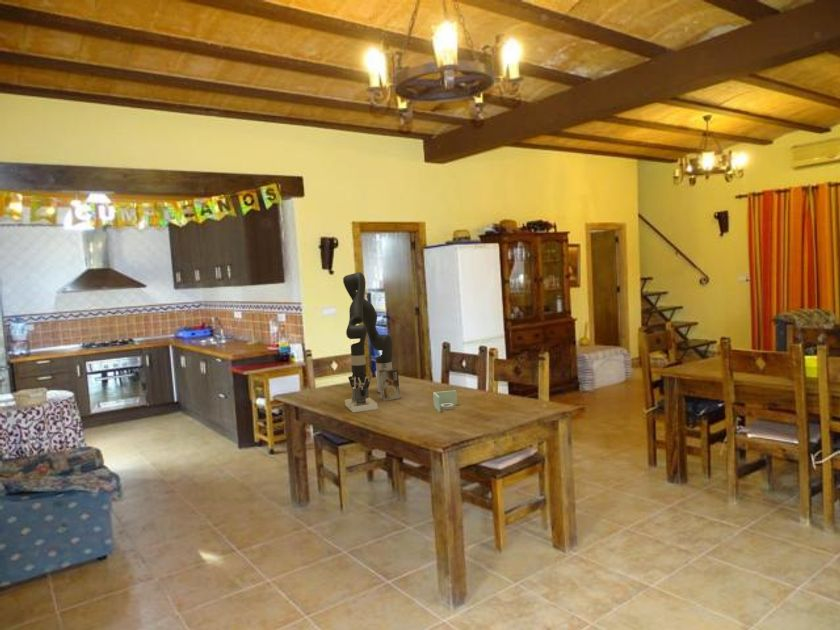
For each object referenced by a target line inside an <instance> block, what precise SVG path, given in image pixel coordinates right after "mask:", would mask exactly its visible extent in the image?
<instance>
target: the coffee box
mask: <svg viewBox="0 0 840 630" xmlns="http://www.w3.org/2000/svg"><path fill="white" fill-rule="evenodd" d="M379 377H380V390H381V393H380V399H381V400H383V401H384V402H386V401H393V400H397V399H398V400H399V399H401V394H400V382H399V370H398V369H396V368H392V369H386V370H379Z"/></svg>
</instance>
